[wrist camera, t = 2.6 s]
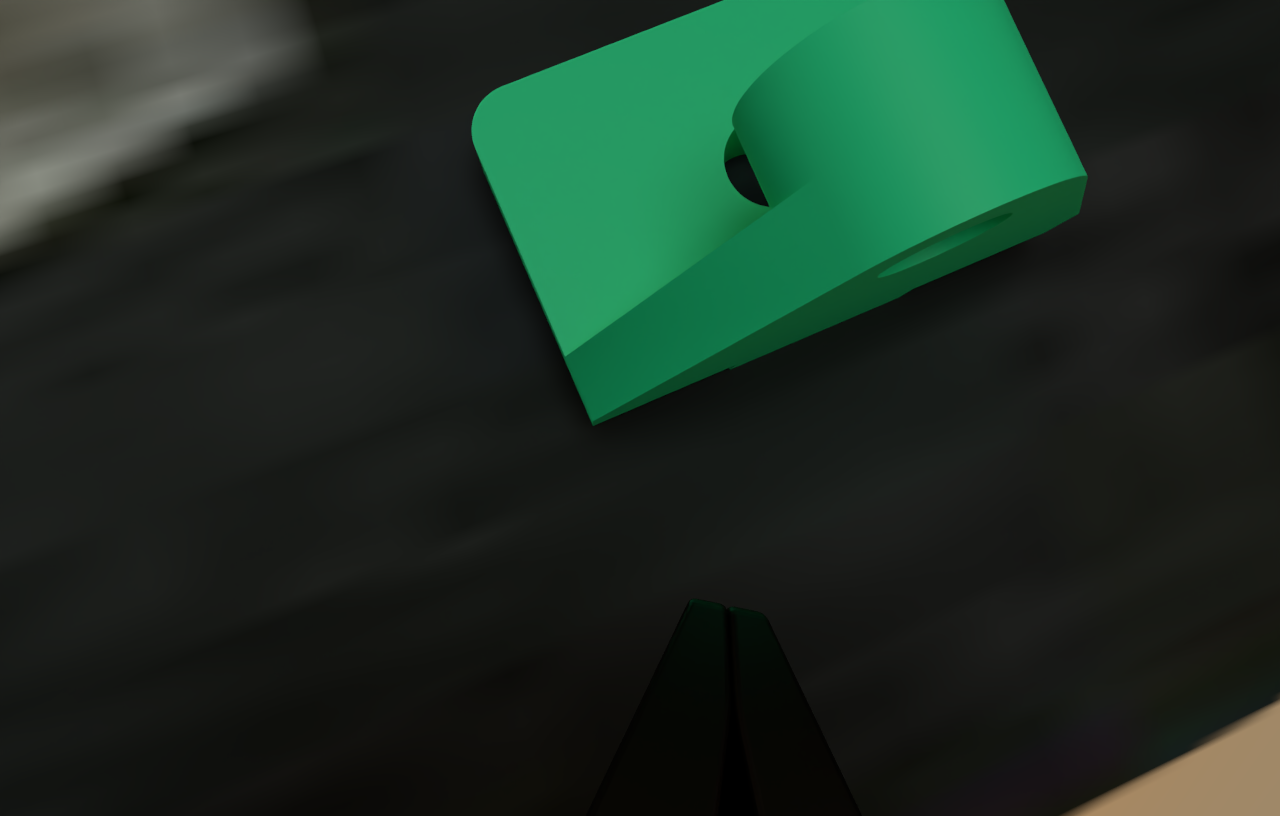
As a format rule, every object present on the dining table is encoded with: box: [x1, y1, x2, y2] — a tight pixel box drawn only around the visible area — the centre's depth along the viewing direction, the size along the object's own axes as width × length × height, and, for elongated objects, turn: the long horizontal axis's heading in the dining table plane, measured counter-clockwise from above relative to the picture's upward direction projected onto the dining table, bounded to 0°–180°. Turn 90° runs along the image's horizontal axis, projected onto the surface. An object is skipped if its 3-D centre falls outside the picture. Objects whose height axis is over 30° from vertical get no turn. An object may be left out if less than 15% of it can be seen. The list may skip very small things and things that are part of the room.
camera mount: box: [472, 0, 1088, 426], centre depth 17 cm, size 12×8×10 cm, turn 113°
